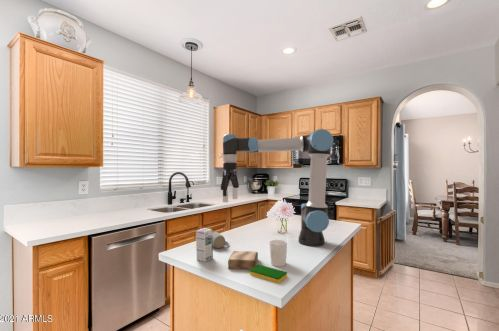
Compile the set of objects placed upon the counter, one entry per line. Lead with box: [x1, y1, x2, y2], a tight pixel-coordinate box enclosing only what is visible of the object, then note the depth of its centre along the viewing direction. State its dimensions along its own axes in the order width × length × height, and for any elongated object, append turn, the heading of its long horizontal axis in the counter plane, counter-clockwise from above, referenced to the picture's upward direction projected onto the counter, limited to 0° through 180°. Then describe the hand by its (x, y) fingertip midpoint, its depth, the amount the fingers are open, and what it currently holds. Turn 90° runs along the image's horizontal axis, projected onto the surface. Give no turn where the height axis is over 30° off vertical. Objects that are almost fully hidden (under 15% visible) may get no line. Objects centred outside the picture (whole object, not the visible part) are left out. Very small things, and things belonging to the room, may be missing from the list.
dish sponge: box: [249, 264, 288, 284], centre depth 102 cm, size 7×14×2 cm, turn 54°
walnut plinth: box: [227, 250, 259, 271], centre depth 114 cm, size 12×12×4 cm
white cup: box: [269, 239, 288, 267], centre depth 114 cm, size 8×8×10 cm
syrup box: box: [195, 227, 214, 263], centre depth 121 cm, size 6×6×14 cm
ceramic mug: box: [212, 231, 230, 249], centre depth 140 cm, size 11×8×8 cm
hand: (230, 200), depth 137 cm, fingers open, 13 cm apart
